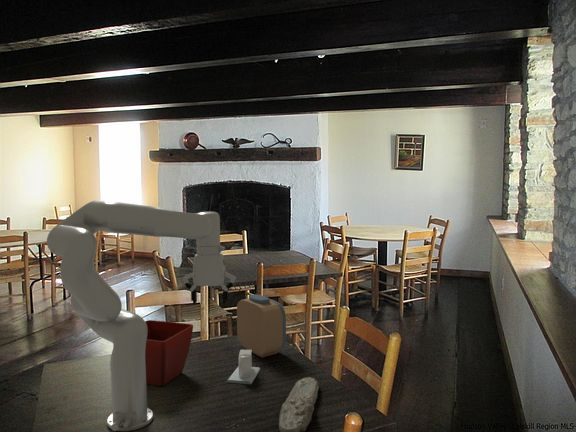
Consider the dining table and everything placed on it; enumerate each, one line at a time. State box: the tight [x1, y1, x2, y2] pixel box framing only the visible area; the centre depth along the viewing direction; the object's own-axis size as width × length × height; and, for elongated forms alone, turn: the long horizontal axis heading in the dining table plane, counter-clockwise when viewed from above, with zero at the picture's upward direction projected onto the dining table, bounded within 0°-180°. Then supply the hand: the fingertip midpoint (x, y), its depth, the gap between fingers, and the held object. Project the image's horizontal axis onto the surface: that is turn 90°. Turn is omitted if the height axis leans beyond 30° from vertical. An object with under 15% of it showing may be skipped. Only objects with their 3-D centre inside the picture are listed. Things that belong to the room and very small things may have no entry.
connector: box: [238, 349, 253, 378], centre depth 178 cm, size 11×4×7 cm, turn 0°
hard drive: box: [226, 365, 261, 385], centre depth 177 cm, size 2×8×12 cm
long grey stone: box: [278, 376, 320, 432], centre depth 153 cm, size 35×5×10 cm
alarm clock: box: [236, 293, 287, 358], centre depth 199 cm, size 21×10×22 cm, turn 37°
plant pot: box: [144, 319, 194, 387], centre depth 175 cm, size 19×19×17 cm
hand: (209, 302), depth 165 cm, fingers open, 9 cm apart
